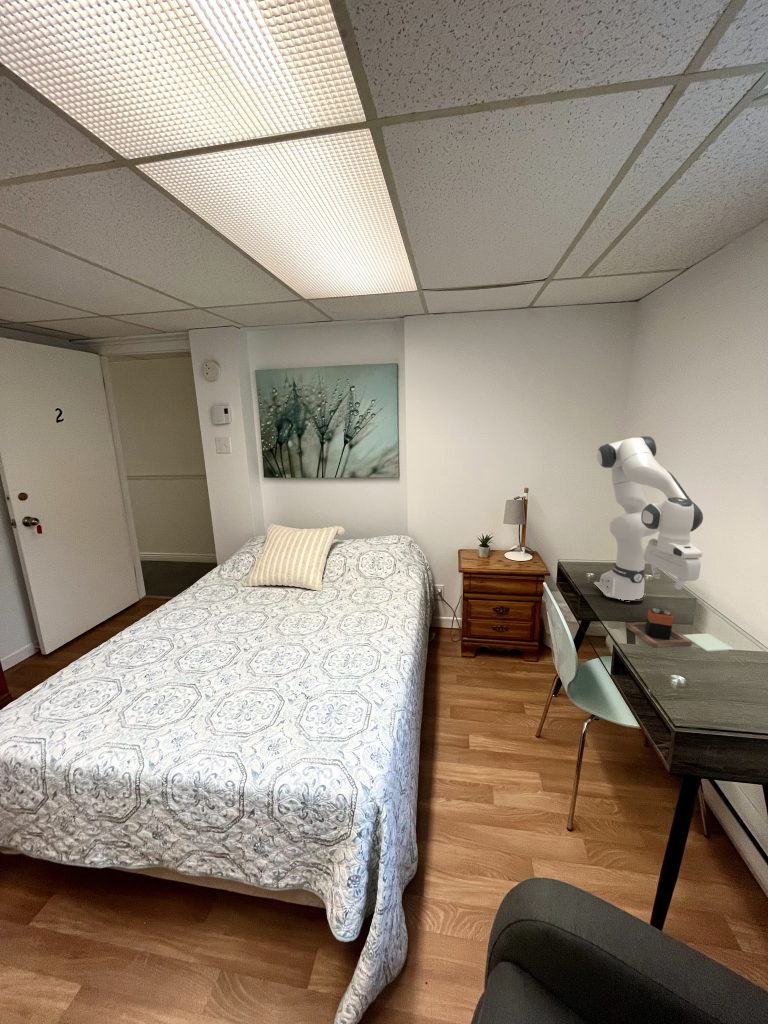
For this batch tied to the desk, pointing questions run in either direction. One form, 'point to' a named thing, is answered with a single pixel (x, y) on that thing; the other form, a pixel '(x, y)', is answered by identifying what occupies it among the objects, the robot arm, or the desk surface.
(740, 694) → the desk surface
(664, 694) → the desk surface
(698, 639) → the pad
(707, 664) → the desk surface
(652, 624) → the battery
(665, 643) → the dock
